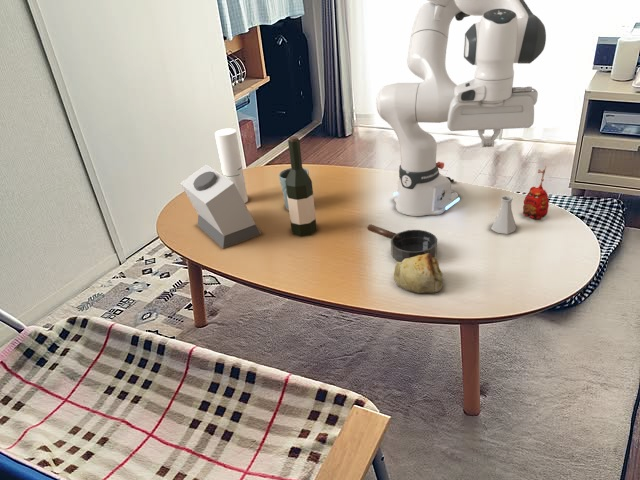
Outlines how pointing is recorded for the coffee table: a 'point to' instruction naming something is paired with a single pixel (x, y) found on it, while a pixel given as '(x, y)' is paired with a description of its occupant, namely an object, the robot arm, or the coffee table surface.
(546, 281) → the coffee table surface
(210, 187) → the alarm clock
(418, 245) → the pan
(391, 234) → the pan handle
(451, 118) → the robot arm
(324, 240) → the coffee table surface
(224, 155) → the cylindrical container
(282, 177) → the drinking glass
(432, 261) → the pastry
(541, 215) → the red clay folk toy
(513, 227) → the flask
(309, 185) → the wine bottle
